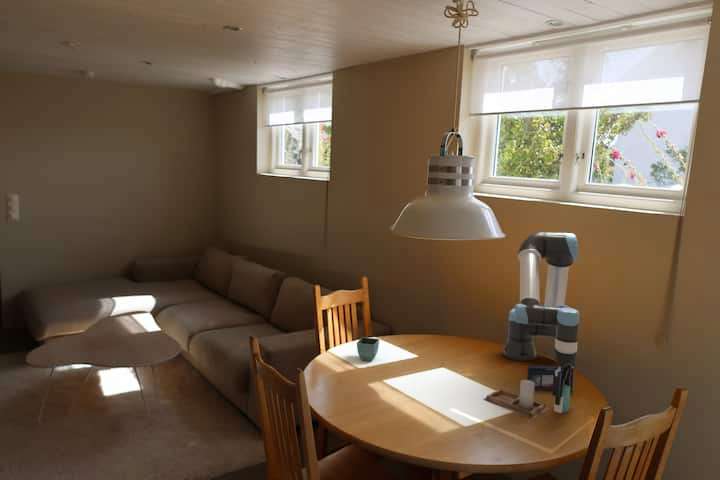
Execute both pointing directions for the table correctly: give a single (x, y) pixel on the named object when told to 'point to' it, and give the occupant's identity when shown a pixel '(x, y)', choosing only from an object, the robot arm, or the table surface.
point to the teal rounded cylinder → (566, 398)
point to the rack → (514, 403)
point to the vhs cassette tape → (542, 376)
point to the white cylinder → (526, 394)
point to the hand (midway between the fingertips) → (561, 409)
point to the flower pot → (367, 348)
